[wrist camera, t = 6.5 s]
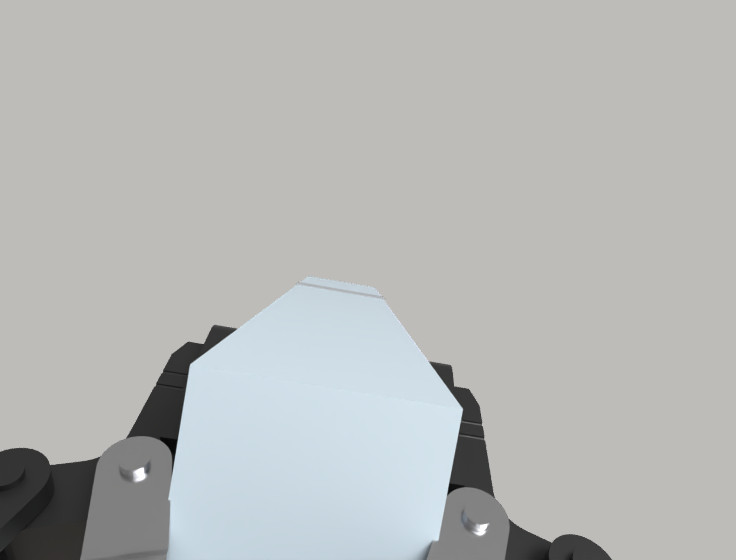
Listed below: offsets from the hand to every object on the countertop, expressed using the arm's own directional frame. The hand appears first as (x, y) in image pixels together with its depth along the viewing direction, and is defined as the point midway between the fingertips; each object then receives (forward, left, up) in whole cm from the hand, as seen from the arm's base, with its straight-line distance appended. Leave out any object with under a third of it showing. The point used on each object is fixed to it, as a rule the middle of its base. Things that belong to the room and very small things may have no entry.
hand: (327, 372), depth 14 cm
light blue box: (0, +9, -4) cm, 10 cm away
